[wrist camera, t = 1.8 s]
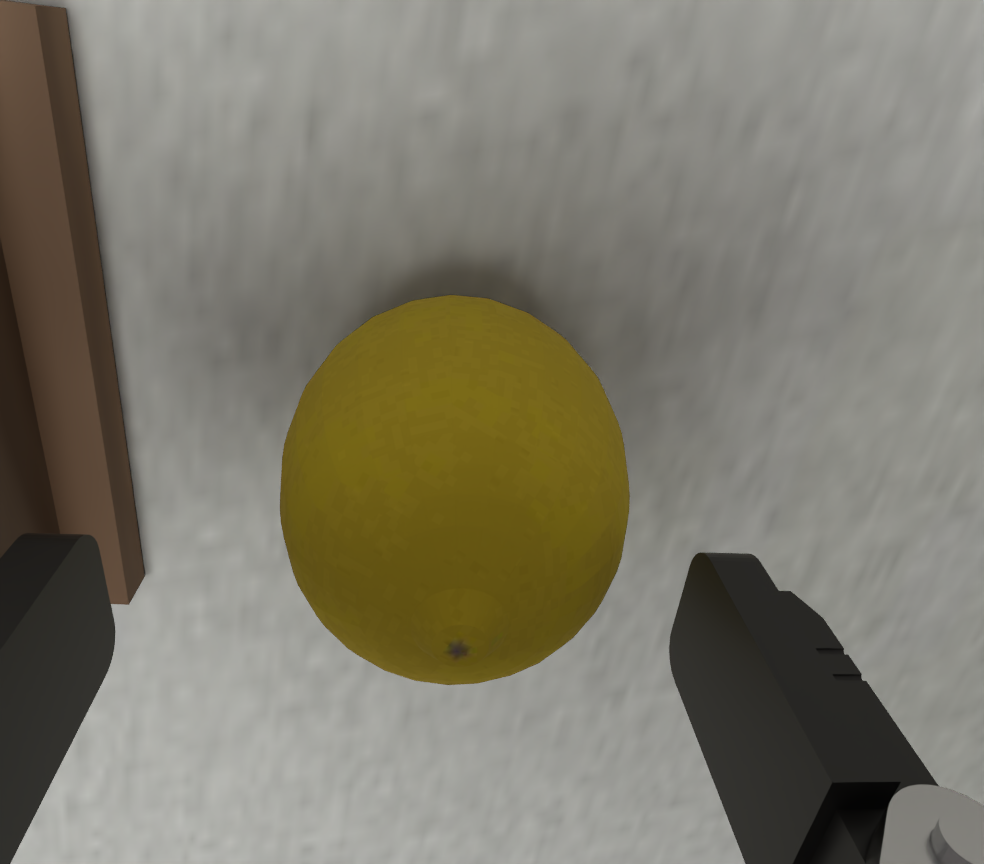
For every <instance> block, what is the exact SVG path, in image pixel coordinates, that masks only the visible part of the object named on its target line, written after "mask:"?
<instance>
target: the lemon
mask: <svg viewBox="0 0 984 864" xmlns="http://www.w3.org/2000/svg"><path fill="white" fill-rule="evenodd" d="M629 497H630V494H629V481H628V473H627V466H626V458H625V450H624V443H623V438H622V433H621V430H620V427H619V424H618V421H617V419H616V416H615V414H614V412H613V410H612V407H611V405H610V403H609V401H608V398H607V396H606V394H605V392H604V389H603V387H602V385H601V383H600V381H599V379H598V377H597V376H596V375H595V373H594V372H593V371H592V370H591V368H590V367H589V366H588V365H587V364H586V362H585V361H584V360H583V359H582V358H581V357H580V355H579V354H578V353H577V352H576V351H575V349H574V348H573V347H572V346H571V345H570V344H569V342H568V341H567V340H566V339H565V338H563V337H562V336H561V335H560V334H558V333H557V332H555V331H554V330H553V329H551V328H550V327H548V326H547V325H545V324H544V323H542V322H541V321H539V320H538V319H536V318H535V317H533V316H532V315H530V314H529V313H527V312H524V311H522V310H519V309H516V308H513V307H510V306H508V305H505V304H502V303H499V302H497V301H494V300H491V299H488V298H478V297H468V296H457V295H446V296H439V297H433V298H426V299H419V300H413V301H410V302H408V303H405V304H403V305H400V306H398V307H396V308H393V309H391V310H388V311H386V312H383V313H381V314H379V315H376V316H374V317H372V318H371V319H369V320H368V321H367V322H366V323H364V324H363V325H362V326H360V327H359V328H358V329H356V330H355V331H354V332H352V333H351V334H350V335H348V336H347V337H346V338H345V339H343V340H342V341H341V342H340V343H339V344H337V345H336V346H335V348H334V349H333V350H332V352H331V353H330V354H329V356H328V357H327V358H326V360H325V361H324V362H323V364H322V365H321V366H320V368H319V369H318V370H317V372H316V373H315V374H314V376H313V377H312V378H311V380H310V381H309V383H308V384H307V385H306V387H305V389H304V391H303V394H302V396H301V398H300V401H299V404H298V406H297V409H296V412H295V414H294V417H293V420H292V422H291V425H290V428H289V430H288V433H287V437H286V440H285V444H284V450H283V457H282V475H281V493H280V515H281V525H282V530H283V535H284V540H285V543H286V547H287V551H288V555H289V559H290V562H291V566H292V570H293V573H294V576H295V578H296V581H297V583H298V586H299V587H300V589H301V591H302V592H303V594H304V596H305V597H306V599H307V601H308V602H309V604H310V606H311V607H312V609H313V611H314V612H315V614H316V615H317V617H318V618H319V619H320V621H321V622H322V623H323V625H324V626H325V627H326V628H327V629H328V630H329V631H330V632H331V633H332V634H333V635H334V636H335V637H337V638H338V639H339V640H340V641H341V642H342V643H343V644H344V645H345V646H346V647H347V648H348V649H350V650H351V651H353V652H354V653H356V654H357V655H359V656H360V657H362V658H364V659H366V660H367V661H369V662H371V663H373V664H374V665H376V666H378V667H380V668H381V669H383V670H385V671H388V672H391V673H394V674H397V675H400V676H403V677H406V678H409V679H412V680H416V681H423V682H430V683H438V684H445V685H455V684H474V683H481V682H485V681H489V680H493V679H498V678H502V677H506V676H510V675H513V674H515V673H517V672H519V671H522V670H524V669H526V668H528V667H531V666H533V665H535V664H538V663H540V662H541V661H542V660H544V659H545V658H546V657H548V656H549V655H551V654H552V653H553V652H555V651H556V650H558V649H559V648H560V647H562V646H563V645H564V644H566V643H567V642H568V641H569V640H571V639H572V638H573V637H574V636H575V635H576V634H577V633H578V631H579V630H580V629H581V628H582V627H583V626H584V625H585V623H586V622H587V621H588V620H589V619H590V618H591V617H592V615H593V614H594V613H595V611H596V610H597V608H598V607H599V605H600V604H601V602H602V600H603V598H604V596H605V594H606V592H607V590H608V588H609V586H610V584H611V582H612V580H613V578H614V576H615V574H616V572H617V569H618V566H619V563H620V560H621V557H622V551H623V545H624V539H625V533H626V528H627V521H628V514H629Z"/></svg>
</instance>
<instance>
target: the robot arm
mask: <svg viewBox="0 0 984 864" xmlns="http://www.w3.org/2000/svg"><path fill="white" fill-rule="evenodd" d="M114 645H115V624H114V618H113V613H112V608H111V603H110V599H109V594H108V589H107V584H106V579H105V574H104V569H103V564H102V560H101V555H100V550H99V546H98V543H97V541H96V540H95V538H94V537H93V536H91V535H88V534H51V533H25V534H22V535H21V536H19V537H18V538H17V539H16V540H15V541H14V542H13V544H12V545H11V546H10V547H9V548H8V550H7V551H6V552H5V553H4V555H3V556H2V557H1V558H0V864H10V863H11V861H12V859H13V857H14V855H15V853H16V851H17V849H18V847H19V845H20V843H21V841H22V839H23V837H24V835H25V833H26V831H27V829H28V827H29V826H30V824H31V822H32V820H33V818H34V816H35V814H36V812H37V810H38V808H39V806H40V804H41V802H42V800H43V798H44V796H45V794H46V792H47V790H48V788H49V786H50V784H51V782H52V780H53V778H54V776H55V774H56V772H57V770H58V768H59V767H60V765H61V763H62V761H63V759H64V757H65V755H66V753H67V751H68V749H69V747H70V745H71V743H72V741H73V739H74V737H75V735H76V733H77V731H78V729H79V727H80V725H81V723H82V721H83V719H84V717H85V715H86V713H87V711H88V709H89V708H90V706H91V704H92V702H93V700H94V698H95V696H96V694H97V692H98V690H99V688H100V686H101V684H102V682H103V680H104V678H105V676H106V674H107V672H108V669H109V666H110V663H111V660H112V656H113V651H114ZM843 650H844V648H843V647H842V645H841V644H840V642H839V641H838V639H837V638H836V636H835V635H834V634H833V632H832V631H831V629H830V628H829V626H828V625H827V623H826V622H825V620H824V619H823V618H822V617H821V616H820V615H819V614H818V613H816V612H815V611H814V610H813V609H811V608H810V607H809V606H808V605H807V604H805V603H804V602H803V601H802V600H801V599H799V598H798V597H797V596H796V595H794V594H793V593H792V592H791V591H778V589H777V587H776V586H775V584H774V583H773V581H772V580H771V578H770V577H769V575H768V573H767V572H766V570H765V569H764V567H763V566H762V564H761V563H760V561H759V560H758V559H757V558H756V557H755V556H754V555H752V554H738V553H698V554H696V555H695V556H694V558H693V560H692V562H691V564H690V568H689V571H688V575H687V578H686V582H685V585H684V589H683V592H682V596H681V599H680V603H679V606H678V610H677V613H676V617H675V621H674V624H673V628H672V631H671V636H670V646H669V653H670V664H671V670H672V674H673V677H674V680H675V683H676V686H677V688H678V691H679V693H680V696H681V698H682V701H683V704H684V706H685V709H686V711H687V714H688V716H689V719H690V722H691V724H692V727H693V729H694V732H695V735H696V737H697V740H698V742H699V745H700V747H701V750H702V753H703V755H704V758H705V760H706V763H707V765H708V768H709V771H710V773H711V776H712V778H713V781H714V783H715V786H716V789H717V791H718V794H719V796H720V799H721V801H722V804H723V807H724V809H725V812H726V814H727V817H728V820H729V822H730V825H731V827H732V830H733V832H734V835H735V838H736V840H737V843H738V845H739V848H740V850H741V853H742V856H743V858H744V861H745V863H746V864H984V805H982V804H981V803H979V802H977V801H975V800H973V799H971V798H970V797H968V796H966V795H963V794H961V793H959V792H956V791H954V790H950V789H947V788H944V787H940V786H938V784H937V783H936V782H935V780H934V779H933V777H932V776H931V774H930V773H929V771H928V770H927V769H926V767H925V766H924V764H923V763H922V761H921V760H920V758H919V757H918V755H917V754H916V753H915V751H914V750H913V748H912V747H911V745H910V744H909V742H908V741H907V740H906V738H905V737H904V735H903V734H902V732H901V731H900V729H899V728H898V726H897V725H896V724H895V722H894V721H893V719H892V718H891V716H890V715H889V713H888V712H887V710H886V709H885V708H884V706H883V705H882V703H881V702H880V700H879V699H878V697H877V696H876V694H875V693H874V692H873V690H872V689H871V687H870V686H869V684H868V683H867V681H862V679H861V675H862V674H861V673H860V671H859V670H858V668H857V667H856V665H855V664H854V663H853V661H852V660H851V658H850V657H849V655H845V654H844V651H843Z"/></svg>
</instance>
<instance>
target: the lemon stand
mask: <svg viewBox="0 0 984 864" xmlns="http://www.w3.org/2000/svg"><path fill="white" fill-rule="evenodd" d="M25 533H51V534H88V535H91V536H93V537H94V538H95V540H96V541H97V543H98V546H99V550H100V555H101V560H102V564H103V569H104V574H105V579H106V584H107V589H108V594H109V599H110V603H111V604H127V605H129V603H130V601H131V600H132V598H133V596H134V594H135V593H136V591H137V589H138V587H139V586H140V584H141V582H142V580H143V579H144V577H145V575H144V568H143V561H142V554H141V546H140V539H139V532H138V525H137V518H136V511H135V503H134V496H133V489H132V482H131V475H130V467H129V460H128V453H127V446H126V439H125V432H124V424H123V417H122V410H121V403H120V396H119V389H118V381H117V374H116V367H115V360H114V353H113V346H112V338H111V331H110V324H109V317H108V310H107V303H106V295H105V288H104V281H103V274H102V267H101V260H100V252H99V245H98V238H97V231H96V224H95V217H94V209H93V202H92V195H91V188H90V181H89V174H88V166H87V159H86V152H85V145H84V138H83V131H82V123H81V116H80V109H79V102H78V95H77V87H76V80H75V73H74V66H73V59H72V52H71V44H70V37H69V30H68V23H67V16H66V9H65V8H59V7H51V6H44V5H36V4H28V3H21V2H13V1H6V0H0V558H1V557H2V556H3V555H4V553H5V552H6V551H7V550H8V548H9V547H10V546H11V545H12V544H13V542H14V541H15V540H16V539H17V538H18V537H19V536H21V535H22V534H25Z"/></svg>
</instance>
